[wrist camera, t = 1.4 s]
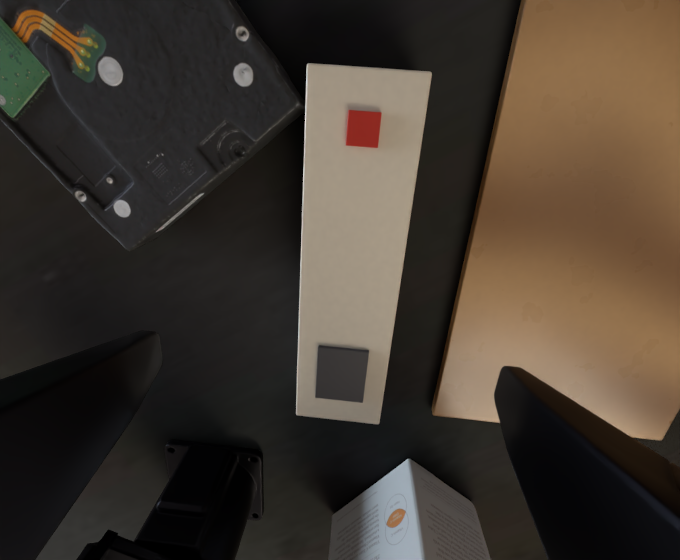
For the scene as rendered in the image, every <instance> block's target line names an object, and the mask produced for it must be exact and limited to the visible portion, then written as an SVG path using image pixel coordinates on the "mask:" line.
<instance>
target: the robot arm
mask: <svg viewBox="0 0 680 560" xmlns="http://www.w3.org/2000/svg"><path fill="white" fill-rule="evenodd" d="M162 362H163V356H162V349H161V342H160V337H159V334H158V333H156V332H152V331H139V332H136V333H133V334H130V335H127V336H124V337H121V338H119V339H116V340H113V341H110V342H107V343H104V344H101V345H98V346H95V347H93V348H90V349H87V350H84V351H81V352H78V353H75V354H72V355H70V356H67V357H64V358H61V359H58V360H55V361H52V362H49V363H47V364H44V365H41V366H38V367H35V368H32V369H29V370H26V371H24V372H21V373H18V374H15V375H12V376H9V377H6V378H3V379H1V380H0V560H35V559H36V558H37V556H38V555H39V553H40V552H41V550H42V549H43V548H44V546H45V545H46V543H47V542H48V540H49V539H50V537H51V536H52V535H53V533H54V532H55V530H56V529H57V527H58V526H59V524H60V523H61V522H62V520H63V519H64V517H65V516H66V514H67V513H68V511H69V510H70V509H71V507H72V506H73V504H74V503H75V501H76V500H77V498H78V497H79V495H80V494H81V493H82V491H83V490H84V488H85V487H86V485H87V484H88V482H89V481H90V480H91V478H92V477H93V475H94V474H95V472H96V471H97V469H98V468H99V467H100V465H101V464H102V462H103V461H104V459H105V458H106V456H107V455H108V454H109V452H110V451H111V449H112V448H113V446H114V445H115V443H116V442H117V440H118V439H119V438H120V436H121V435H122V433H123V432H124V430H125V429H126V427H127V426H128V424H129V423H130V421H131V420H132V418H133V417H134V415H135V413H136V412H137V410H138V408H139V407H140V405H141V403H142V401H143V399H144V398H145V396H146V394H147V392H148V390H149V388H150V387H151V385H152V383H153V381H154V379H155V378H156V376H157V374H158V372H159V370H160V368H161V366H162ZM494 401H495V405H496V409H497V413H498V416H499V420H500V424H501V428H502V432H503V436H504V440H505V443H506V447H507V451H508V454H509V458H510V460H511V463H512V466H513V469H514V471H515V474H516V477H517V479H518V482H519V485H520V487H521V490H522V492H523V495H524V498H525V500H526V503H527V506H528V508H529V511H530V514H531V516H532V519H533V521H534V524H535V527H536V529H537V532H538V535H539V537H540V540H541V542H542V545H543V548H544V550H545V553H546V556H547V558H548V560H680V467H678V466H676V465H675V464H673V463H669V461H668V460H667V459H665V458H664V457H662V456H660V455H659V454H657V453H656V452H654V451H653V450H651V449H649V448H648V447H646V446H645V445H643V444H641V443H640V442H638V441H637V440H635V439H633V438H632V437H630V436H629V435H627V434H626V433H624V432H622V431H621V430H619V429H618V428H616V427H614V426H613V425H611V424H610V423H608V422H607V421H605V420H603V419H602V418H600V417H599V416H597V415H595V414H594V413H592V412H591V411H589V410H587V409H586V408H584V407H583V406H581V405H580V404H578V403H576V402H575V401H573V400H572V399H570V398H568V397H567V396H565V395H564V394H562V393H561V392H559V391H557V390H556V389H554V388H553V387H551V386H549V385H548V384H546V383H545V382H543V381H542V380H540V379H538V378H537V377H535V376H534V375H532V374H530V373H529V372H527V371H526V370H524V369H523V368H521V367H515V366H504V367H502V369H501V371H500V374H499V377H498V381H497V384H496V388H495V392H494ZM164 451H165V457H166V464H167V470H168V476H169V481H168V483H167V485H166V487H165V488H164V490H163V492H162V494H161V495H160V497H159V499H158V500H157V502H156V504H155V506H154V507H153V509H152V511H151V513H150V514H149V516H148V518H147V519H146V521H145V523H144V525H143V526H142V528H141V530H140V532H139V533H138V535H137V537H136V538H135V540H134V542H133V541H130V540H128V539H125V538H123V537H120V536H118V533H116V532H114V531H111V530H108V531H107V532H106V533H105V535H104V536H103V537H102V539H101V540H100V541H99V542H96V543H89V544H87V545H86V547H85V548H84V550H83V551H82V553H81V554H80V555H79V557H78V558H77V560H235V557H236V554H237V551H238V548H239V545H240V542H241V538H242V535H243V532H244V529H245V526H246V522H247V519H249V520H260V519H261V518H262V515H263V512H264V498H263V455H262V453H261V451H259V450H256V449H249V448H240V447H232V446H223V445H214V444H206V443H197V442H188V441H180V440H170V441H168V443H167V444H166V446H165V447H164Z"/></svg>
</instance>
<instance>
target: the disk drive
mask: <svg viewBox="0 0 680 560" xmlns="http://www.w3.org/2000/svg"><path fill="white" fill-rule="evenodd" d="M304 112H305V100H304V99H303V98H302V97H301V96H300V93H299V92H298V91H297V89H296V87H295V86H294V84H293V83H292V82H291V81H290V78H289V75H288V74H287V72H286V71H285V69H284V68H283V66H282V65H281V64H280V62H279V60H278V59H277V57H276V56H275V54H274V53H273V52H272V51H271V49H270V48H269V47H268V46H267V45H266V44H265V43H264V42H263V40H262V39H261V37H260V36H259V34H258V33H257V32H256V30H255V29H254V27H253V26H252V24H251V23H250V21H249V20H248V19H247V17H246V15H245V14H244V13H243V11H242V10H241V8H240V6H239V5H238V4H237V2H236V1H235V0H0V121H2V122H3V123H4V124H5V125H6V126H7V127H8V128H9V129H10V130H11V131H12V132H13V133H14V135H15V136H16V137H17V138H18V139H19V140H20V141H21V142H22V143H23V144H24V145H25V146H27V148H28V149H29V150H30V151H31V152H32V153H33V154H34V155H35V157H36V158H38V159H39V160H40V162H41V163H42V164H43V165H44V166H45V167H46V168H47V169H48V170H50V172H51V173H52V174H53V175H54V176H55V177H56V178H57V179H58V180H59V181H60V182H61V183H62V185H63V186H64V187H65V188H66V189H67V190H68V191H69V192H70V193H71V194H73V196H74V197H75V198H77V199H78V201H79V203H80V204H81V205H82V206H84V208H85V209H86V210H87V211H88V212H89V214H90V215H91V216H92V217H93V218H94V219H95V220H96V221H97V222H98V223H99V224H100V225H101V226H102V227H103V228H104V229H106V230H107V231H108V232H109V233H110V234H111V235H112V236H113V237H114V238H115V239H117V240H118V241H119V242H120V244H121V245H122V246H123V247H124V248H125V249H126V250H130V251H131V250H134V249H135V248H138V247H140V246H142V245H144V244H146V243H148V242H150V241H152V240H154V239H156V238H157V237H159V236H160V235H161V234H162V233H163V232H165V231H166V230H167V229H168V228H169V227H170V226H172V225H173V224H174V223H175V222H176V221H177V220H178V219H180V218H181V217H182V216H184V215H185V214H186V213H187V212H188V211H189V210H191V209H192V208H193V207H194V206H195V205H196V204H197V203H198V202H200V201H201V200H202V199H203V198H204V197H206V196H207V195H208V194H209V193H210V192H212V191H213V190H214V189H215V188H216V187H218V186H219V185H220V184H221V183H222V182H223V181H225V180H226V179H227V178H228V177H229V176H230V175H232V174H233V173H234V172H235V171H236V170H237V169H239V168H240V167H241V166H242V165H244V164H245V163H246V162H247V161H248V160H249V159H251V158H252V157H253V156H254V155H255V154H256V153H258V152H259V151H260V150H261V149H262V148H264V147H265V146H266V145H267V144H268V143H269V142H270V141H272V140H273V139H274V138H275V137H276V136H277V134H279V133H280V132H281V131H282V130H283V129H285V128H286V127H287V126H288V125H289V124H290V123H292V122H293V121H294V120H296V119H297V118H298V117H299V116H300V115H301V114H303V113H304Z"/></svg>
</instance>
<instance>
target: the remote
mask: <svg viewBox="0 0 680 560" xmlns="http://www.w3.org/2000/svg"><path fill="white" fill-rule="evenodd" d="M431 77H432V73H431V72H429V71H415V70H401V69H386V68H372V67H358V66H344V65H329V64H315V63H308V64H307V68H306V101H305V133H304V166H303V198H302V231H301V263H300V296H299V328H298V361H297V393H296V415H298V416H307V417H316V418H325V419H334V420H343V421H352V422H361V423H370V424H379V423H380V416H381V409H382V403H383V396H384V389H385V383H386V376H387V369H388V363H389V356H390V349H391V343H392V336H393V330H394V323H395V316H396V310H397V303H398V296H399V290H400V283H401V276H402V270H403V263H404V256H405V250H406V243H407V236H408V230H409V223H410V217H411V210H412V203H413V197H414V190H415V183H416V177H417V170H418V163H419V157H420V150H421V143H422V137H423V130H424V123H425V117H426V110H427V104H428V97H429V90H430V84H431Z"/></svg>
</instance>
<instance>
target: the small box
mask: <svg viewBox="0 0 680 560" xmlns="http://www.w3.org/2000/svg"><path fill="white" fill-rule="evenodd" d="M329 560H491V559H490V556H489V552H488V549H487V546H486V542H485V539H484V536H483V533H482V529H481V526H480V522H479V519H478V516H477V512H476V509H475V506H474V505H473V504H472V502H471V501H469V500H468V499H467V498H465V497H464V496H462V495H461V494H459V493H458V492H457V491H455V490H454V489H452V488H451V487H449V486H448V485H447V484H445V483H444V482H442V481H441V480H440V479H438V478H437V477H435V476H434V475H433V474H431V473H430V472H428V471H427V470H426V469H424V468H423V467H421V466H420V465H418V464H417V463H416V462H414V461H413V460H411V459H407V460H405V461H404V462H403V463H402V464H400V465H399V466H398V467H396V468H395V469H394V470H392V471H391V472H390V473H388V474H387V475H386V476H384V477H383V478H382V479H380V480H379V481H378V482H376V483H375V484H374V485H372V486H371V487H370V488H368V489H367V490H366V491H364V492H363V493H362V494H360V495H359V496H358V497H356V498H355V499H354V500H352V501H351V502H350V503H348V504H347V505H346V506H344V507H343V508H342V509H340V510H339V511H338V512H336V513H335V514H333V516H332V526H331V538H330V549H329Z"/></svg>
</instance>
